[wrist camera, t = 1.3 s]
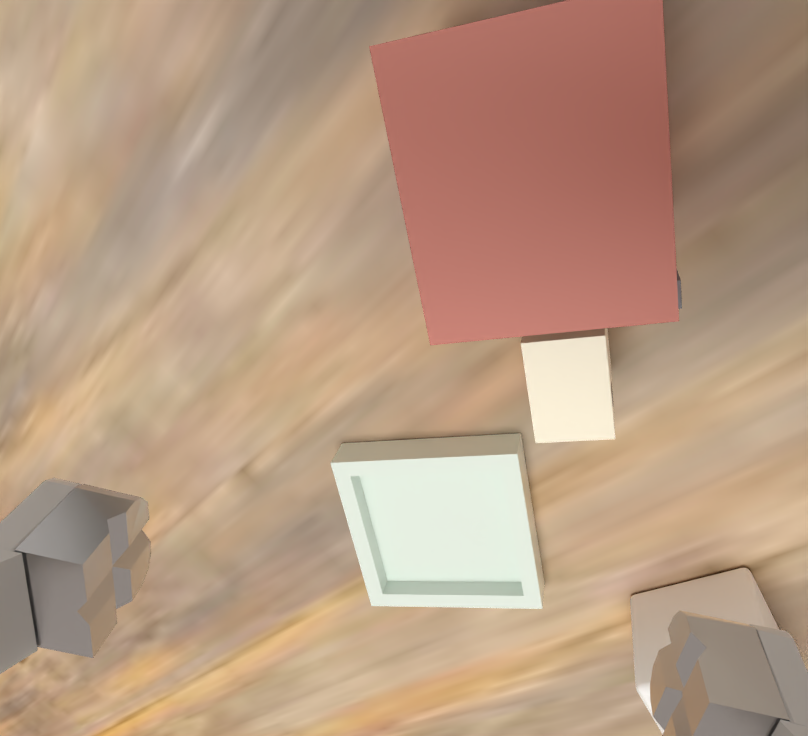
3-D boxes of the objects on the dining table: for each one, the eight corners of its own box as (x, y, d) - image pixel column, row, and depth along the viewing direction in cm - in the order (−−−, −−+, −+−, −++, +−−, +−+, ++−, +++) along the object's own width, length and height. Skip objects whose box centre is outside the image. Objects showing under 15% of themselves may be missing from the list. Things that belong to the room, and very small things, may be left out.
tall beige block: (603, 280, 35) (605, 335, 29) (612, 369, 37) (615, 438, 31) (532, 288, 36) (520, 343, 30) (544, 375, 38) (535, 443, 32)
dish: (520, 433, 40) (517, 454, 38) (544, 583, 44) (542, 608, 43) (342, 443, 43) (330, 463, 41) (380, 582, 48) (371, 605, 46)
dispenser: (641, -9, 30) (669, -24, 19) (655, 224, 33) (685, 320, 23) (438, 37, 32) (363, 47, 22) (474, 249, 36) (425, 345, 25)
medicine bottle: (673, 674, 45) (698, 872, 35) (627, 593, 43) (639, 776, 33) (791, 651, 42) (856, 858, 32) (747, 563, 40) (801, 753, 30)
